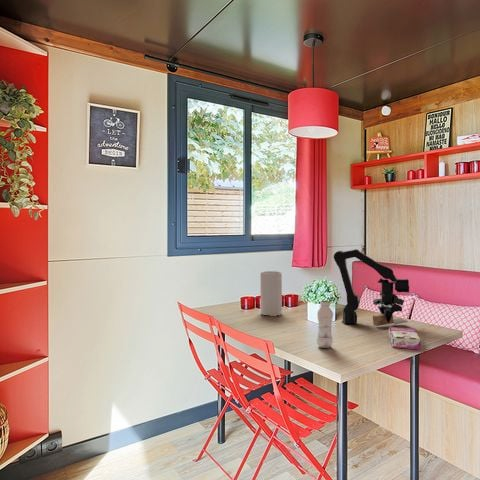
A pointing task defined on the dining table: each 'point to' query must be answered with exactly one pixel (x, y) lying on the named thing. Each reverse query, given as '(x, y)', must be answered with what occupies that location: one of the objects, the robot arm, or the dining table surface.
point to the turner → (382, 320)
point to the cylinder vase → (271, 293)
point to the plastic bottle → (325, 325)
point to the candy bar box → (404, 338)
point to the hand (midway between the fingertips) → (387, 321)
